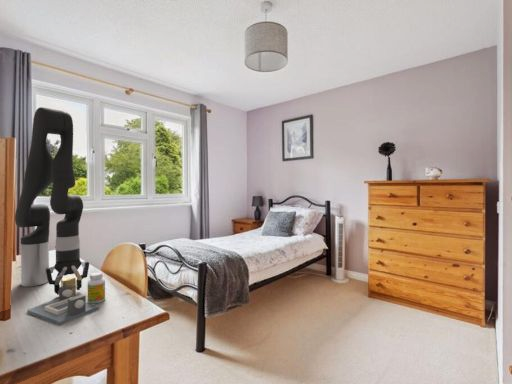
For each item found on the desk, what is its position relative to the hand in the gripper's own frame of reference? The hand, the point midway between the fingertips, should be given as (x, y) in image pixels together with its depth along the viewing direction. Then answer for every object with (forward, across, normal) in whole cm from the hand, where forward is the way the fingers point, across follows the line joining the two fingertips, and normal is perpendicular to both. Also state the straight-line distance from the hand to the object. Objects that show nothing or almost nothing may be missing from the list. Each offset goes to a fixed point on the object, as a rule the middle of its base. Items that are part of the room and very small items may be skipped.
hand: (68, 291), depth 104 cm
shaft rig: (+1, -4, -15) cm, 16 cm away
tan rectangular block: (+1, 0, 0) cm, 1 cm away
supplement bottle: (+1, +6, -14) cm, 15 cm away
